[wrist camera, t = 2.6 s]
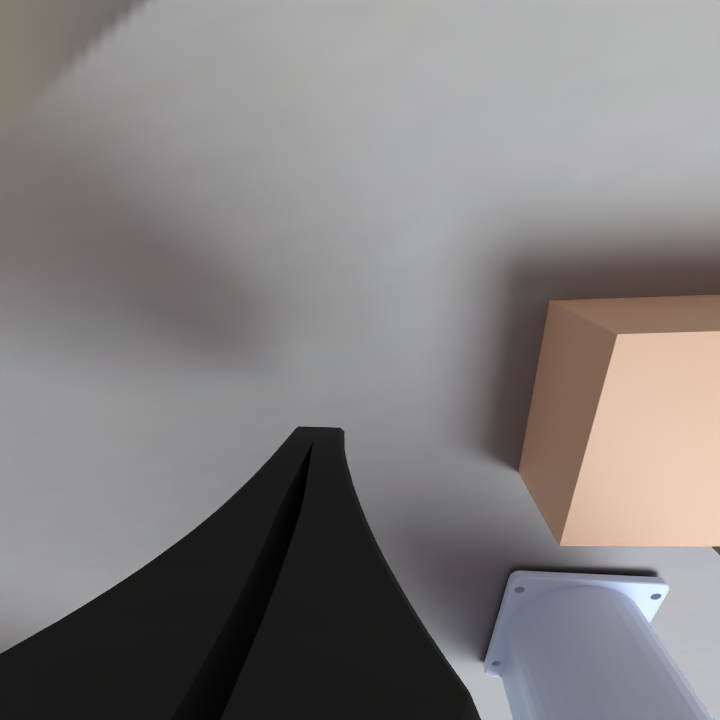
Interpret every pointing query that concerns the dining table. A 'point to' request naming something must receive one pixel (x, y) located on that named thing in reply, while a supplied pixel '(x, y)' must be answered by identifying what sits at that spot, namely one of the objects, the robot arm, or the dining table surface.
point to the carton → (627, 422)
